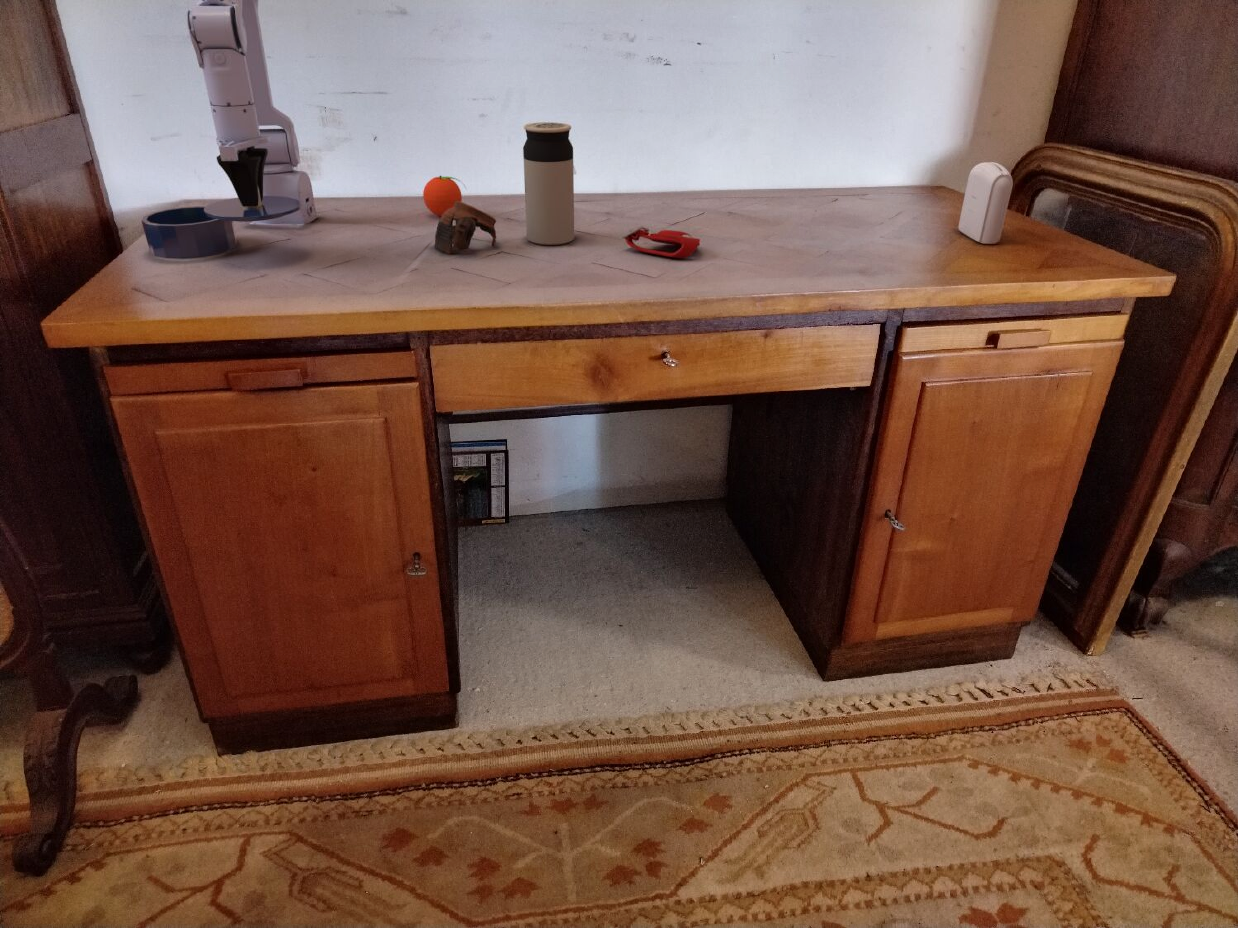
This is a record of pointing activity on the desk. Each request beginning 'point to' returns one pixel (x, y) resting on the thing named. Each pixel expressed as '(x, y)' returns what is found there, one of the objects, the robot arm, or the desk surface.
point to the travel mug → (549, 183)
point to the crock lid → (253, 209)
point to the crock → (187, 233)
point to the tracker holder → (664, 241)
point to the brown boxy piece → (462, 227)
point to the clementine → (441, 194)
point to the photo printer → (986, 202)
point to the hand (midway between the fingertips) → (252, 203)
